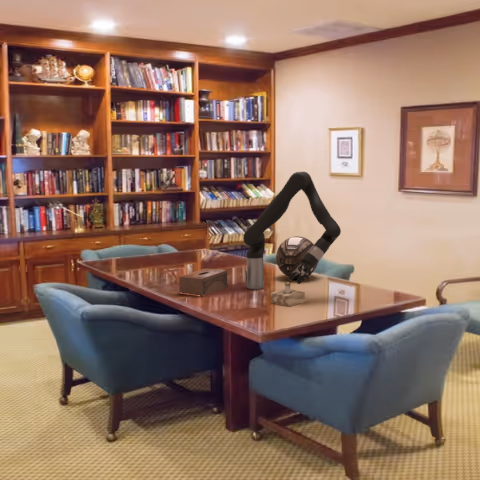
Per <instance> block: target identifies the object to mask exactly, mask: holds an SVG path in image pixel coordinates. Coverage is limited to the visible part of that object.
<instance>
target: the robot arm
mask: <svg viewBox="0 0 480 480" xmlns="http://www.w3.org/2000/svg"><path fill="white" fill-rule="evenodd" d="M301 191H302V192H303V193H304V195H306V196H305V197H306V198H307V199H308V202H309V206H310V210H311V212H312V214H313V215H314V218H315V219H316V220H317V222H318V223H319V224H320V225H322V227H323V228H324V229H325V231H324V232H323V233H322V235H321V236H320V238H318V239H317V240H316V242H315V243H313V244H314V245H313V246H312V247H311V248H310V249H309V251H308V252H307V253H306V254H305V256H304V257H303V258H302V261H303V262H302V263H301V264H300V263H299V262H298V263H297V264H296V265H295V266H294V267H293V269H292V270H291V271H292V274H291V275H290V276H289V277H288V276H287V280H288V281H290V282H292V281H293V280H294V277H295V276H296V275H297V274H300V273H302V274H301V276H300V277H299V278H298V279H296V281H295V282H296V284H298V285H300V284H302V282H303V280H305V279H309V278H310V276H311V275H312V274H313V273H314V272H315V270H314V269H313V268H314V267H315V266H316V265H317V266H318V264H319V263H320V261H321V260H322V259H323V257H324V255H325V254H326V253H327V251H328V250H329V249H330V247H331V246H332V245H333V243H334V242H335V241H336V240H337V239H338V237H339V236H340V235H341V232H342V231H341V227H340V225H339V224H338V222H337V221H336V220H335V219H334V218H333V217H332V215H331V214H330V212H329V211H328V209H327V207H326V206H325V204H324V202H323V200H322V199H321V197H320V195H319V193H318V191H317V188H316V186H315V184H314V182H313V179H312V177H311V175H310V173H308V172H307V171H296V172H294V173H292V174H291V175H290V176H289V178H288V180H287V182H285V185H283V187H282V189H281V190H280V191H279V192H278V193H277V195H276V196H275V197H274V198H273V199H272V200H271V202H270V203H269V204H268V205H267V206H266V208H265V209H264V210H263V211H262V213H261V214H260V216H258V218H257V220H255V222H253V224H252V225H251V226H249V228H247V230H246V231H245V232H244V234H243V242H244V244H245V245H247V246H249V249H248V250H247V251H246V270H245V288H247V289H249V290H261V289H264V288H265V284H264V281H265V279H264V253H265V250H266V249H265V247H266V246H265V245H266V244H265V243H266V237H265V232H266V230H268V229H269V228H270V227H271V226H273V225H274V224H276V223H277V222H278V221H279V220H280V219H281V217H282V216H284V215H285V213H286V212H287V210H288V209H289V206H290V203H291V201H292V200H293V198H294V197H295V196H296V194H298V193H299V192H301ZM317 263H318V264H317ZM294 269H295V270H294ZM296 272H297V273H296Z"/></svg>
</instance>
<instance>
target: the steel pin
mask: <svg viewBox="0 0 480 480" xmlns="http://www.w3.org/2000/svg"><path fill="white" fill-rule="evenodd" d="M291 285H292V281H290V282H289V281H284V289H285V293H286V294H289V293H290V290H291Z"/></svg>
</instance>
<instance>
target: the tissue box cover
mask: <svg viewBox="0 0 480 480" xmlns="http://www.w3.org/2000/svg"><path fill="white" fill-rule="evenodd" d="M178 283H179V284H178V285H179V293H180V292H182V293H189V294H195V295H200V296H203V295H206V294H209V293H212V292H214V293H216V291H217V292H220V291H222V290H224V289H227V288H228V283H229V282H228V270H227V269H217V268H216V269H215V268H202V269H200V270H196V271H192V272H189V273H185V274H183V275H180V276H178ZM212 294H213V293H212ZM209 295H210V294H209ZM206 296H207V295H206Z"/></svg>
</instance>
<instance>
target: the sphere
mask: <svg viewBox="0 0 480 480" xmlns="http://www.w3.org/2000/svg"><path fill="white" fill-rule="evenodd" d="M314 244H315V243H313V242H312V241H311V240H309V239H308V238H306V237H303V236H299V235H298V236H291V237H289V238H286V239H285V240H283V241H282V242H281V243H280V244H279V246H278V248H277V250H276V254H275V260H276V261H275V262H276V265H277V267H278V269H279V271H280V272H281V273H282V274H284V275H285V277H286V276H287V278H288V277H289V276H290V275H291V274H292V271H291V270H292V269H293V267H294V266H295V265H296V264H297V263H298V262H299V263H300V264H301V263H302V262H303V261H302V258H303V257H304V256H305V254H306V253H307V252H308V251H309V249H310V248H311V247H312V246H313V245H314ZM318 265H319V262H318V263H317V265H316V266H315V267H314V268H313V269H314V271H315V270H316V269H317V267H318ZM294 270H295V269H294ZM296 273H297V272H296ZM301 274H302V273H300V274H297V275H296V276H295V277H294V278H293V280H294V279H295V280H298V278H299V277H300V276H301Z"/></svg>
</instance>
